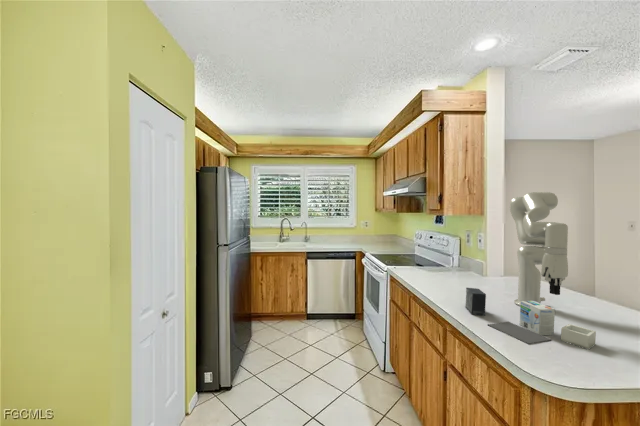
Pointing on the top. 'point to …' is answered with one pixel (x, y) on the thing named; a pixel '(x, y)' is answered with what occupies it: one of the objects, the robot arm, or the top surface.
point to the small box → (475, 301)
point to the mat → (519, 332)
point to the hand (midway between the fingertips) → (554, 293)
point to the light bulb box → (537, 317)
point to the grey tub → (578, 336)
